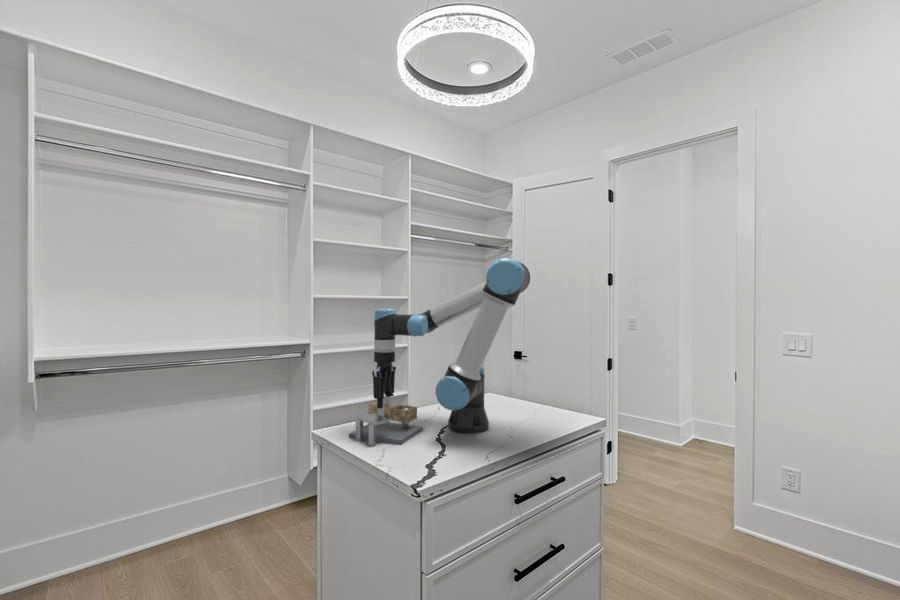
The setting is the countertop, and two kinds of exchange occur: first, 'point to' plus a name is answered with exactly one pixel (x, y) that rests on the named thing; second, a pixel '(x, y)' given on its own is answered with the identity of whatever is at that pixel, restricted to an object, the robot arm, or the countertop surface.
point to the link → (396, 412)
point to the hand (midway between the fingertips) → (383, 415)
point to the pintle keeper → (373, 426)
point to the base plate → (390, 433)
